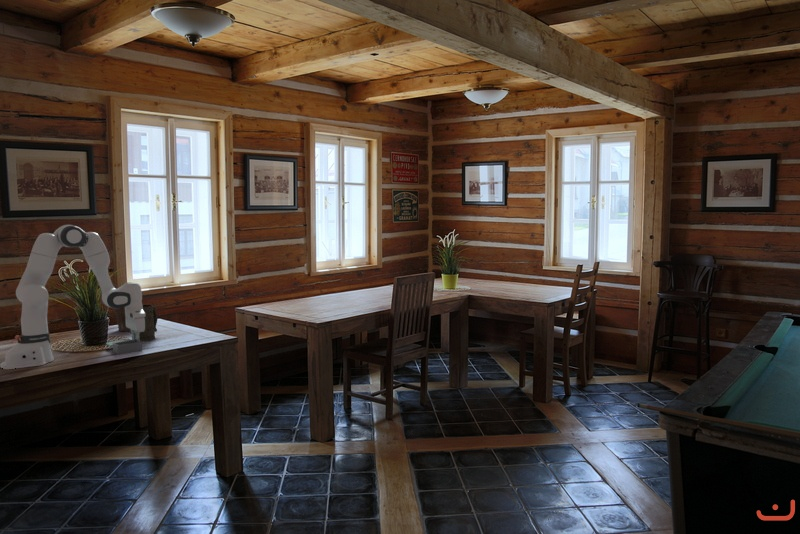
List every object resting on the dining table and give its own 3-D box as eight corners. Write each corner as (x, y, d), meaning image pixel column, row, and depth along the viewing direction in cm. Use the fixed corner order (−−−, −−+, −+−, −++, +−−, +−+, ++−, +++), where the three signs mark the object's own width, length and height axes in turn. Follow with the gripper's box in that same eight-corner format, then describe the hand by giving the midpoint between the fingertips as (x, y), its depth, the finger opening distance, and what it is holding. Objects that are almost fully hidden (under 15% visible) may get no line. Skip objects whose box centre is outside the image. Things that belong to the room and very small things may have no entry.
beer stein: (147, 342, 340) (146, 306, 340) (129, 342, 343) (129, 306, 342) (163, 338, 355) (162, 303, 355) (146, 337, 358) (145, 303, 357)
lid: (110, 347, 321) (110, 338, 320) (106, 344, 327) (105, 336, 326) (141, 342, 331) (140, 334, 330) (136, 339, 337) (135, 331, 336)
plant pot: (119, 333, 365) (118, 306, 364) (110, 329, 377) (108, 303, 375) (147, 329, 376) (146, 303, 374) (138, 325, 388) (136, 300, 386)
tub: (118, 355, 314) (117, 345, 313) (113, 352, 320) (112, 343, 319) (142, 351, 322) (141, 341, 321) (137, 348, 328) (136, 339, 327)
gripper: (121, 310, 337) (123, 335, 338) (134, 315, 321) (135, 341, 323) (133, 309, 341) (135, 333, 343) (146, 314, 326) (148, 339, 327)
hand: (135, 337), depth 333 cm, fingers closed on lid, 3 cm apart
